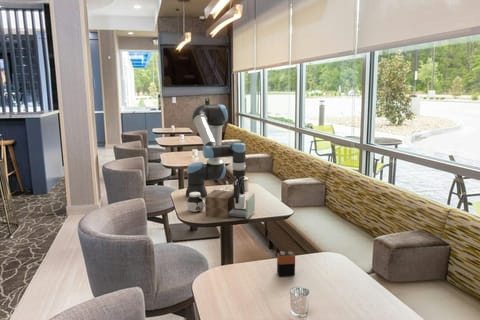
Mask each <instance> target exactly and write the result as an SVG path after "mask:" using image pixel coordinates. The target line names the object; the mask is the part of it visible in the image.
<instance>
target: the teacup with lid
mask: <svg viewBox="0 0 480 320" xmlns="http://www.w3.org/2000/svg"><path fill="white" fill-rule="evenodd" d="M243 177H244V186H245V192H248V191H249V177H247V176H246V175H245V176H243ZM232 186H233V187H234V181H233V182H232Z"/></svg>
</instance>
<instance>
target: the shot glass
mask: <svg viewBox="0 0 480 320" xmlns="http://www.w3.org/2000/svg"><path fill="white" fill-rule="evenodd" d="M239 198H240V208H243V209H245V208H244V207H245V203H246V195H245V194H244V195H242V194H239ZM234 205H235V198H234Z"/></svg>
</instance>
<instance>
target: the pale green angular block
mask: <svg viewBox="0 0 480 320" xmlns="http://www.w3.org/2000/svg"><path fill="white" fill-rule="evenodd" d="M255 196H256V195H255V193H252V194H251V195H249V197H248V198H247V199H245V208H240V209H237V208H233V209H232V210H231V211H230V212H229V213H228V216H230V217H236V218H237V217H238V218H245V219H247V220H248V219H249V218H250V217H251V216H252V215H253V214H254V212H255V211H256V210H255V208H256V207H255V206H256V205H255V204H256V203H255V202H256V201H255V200H256V197H255Z"/></svg>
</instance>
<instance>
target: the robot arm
mask: <svg viewBox="0 0 480 320" xmlns="http://www.w3.org/2000/svg"><path fill="white" fill-rule="evenodd" d="M191 116H192V117H191V120H192V123H193V125H194V126H195V127H196V129H197V131H198V134H199V136H200V139H201V142H202V144H203V147H202V155H203V157H204V159H207V160H206V163H204V162H202V161H198V162H196V161H195V162H193V163H190V164H188V166H187V167H186V168H187V171H186V172H187V187H186V190H185V197H186V198H187V199H188V197H189V193H191V192H200V196H201V197H202V198H203V199H205V196H207V195H208V192H207V191H208V190H207V188H206V185H205V181H206V182H207V181H215V180H216V181H218V180H222V179H223V178H224V177H225V176H226V171H227V170H226V164H225V162H224V161H223V160H222V158H230V157H231V158H232V176H233V177H235V179H234V181H233V182H234V186H233V192H234V197H233V198H235V208H237V209H240V198H239V194H242V195H245V194H246V191H245V186H244V177H243V176H245V177H246V166H247V163H246V150H247V149H246V144H245V143H244V142H234V143H231V142H229V143H227V144H222V139H223V138H222V137H223V136H222V135H223V127H224V125H225V123H226V122H227V121H228V118H229V115H228V110H227V108H226V106H225V105H224V104H219V103H218V104H200V105H198V106H197V107H195V109H194V110H193V112H192V115H191Z"/></svg>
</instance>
